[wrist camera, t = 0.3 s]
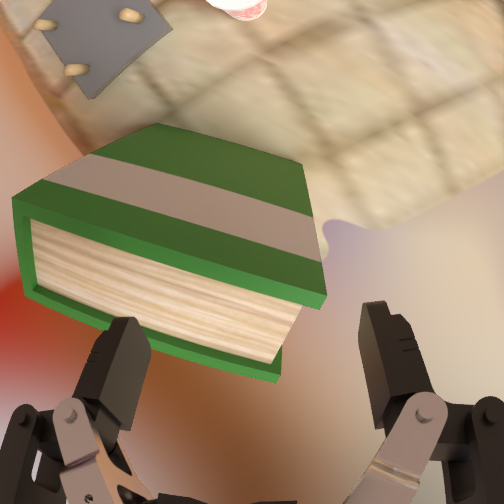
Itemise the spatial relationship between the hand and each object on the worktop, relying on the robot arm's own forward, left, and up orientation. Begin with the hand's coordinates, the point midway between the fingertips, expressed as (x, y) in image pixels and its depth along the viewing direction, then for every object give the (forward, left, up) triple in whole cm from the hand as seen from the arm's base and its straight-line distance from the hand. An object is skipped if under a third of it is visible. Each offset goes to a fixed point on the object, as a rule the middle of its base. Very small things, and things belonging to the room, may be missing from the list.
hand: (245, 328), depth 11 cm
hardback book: (+3, -6, -28) cm, 29 cm away
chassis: (-17, -21, -28) cm, 39 cm away
